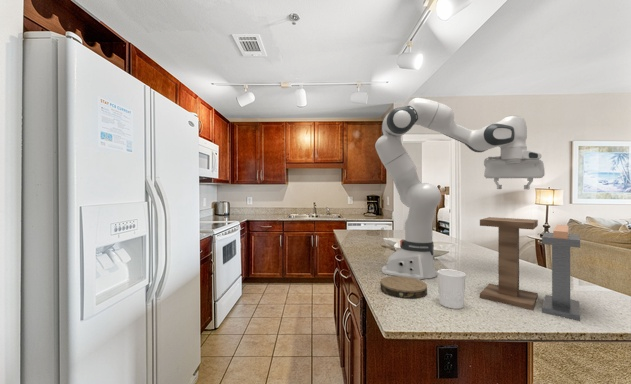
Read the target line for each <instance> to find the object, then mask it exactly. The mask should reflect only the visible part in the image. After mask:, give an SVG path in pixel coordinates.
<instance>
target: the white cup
mask: <svg viewBox="0 0 631 384" xmlns="http://www.w3.org/2000/svg"><path fill="white" fill-rule="evenodd" d="M436 274H437V287H438V289H437V290H438V301H439V303H438V304H440V305H441V306H443V307H445V308H449V309H455V310H457V309H458V310H460V309H462V308H463V309H464V302H465V301H464V299H465V294H466V293H465V289H466V276H467V275H466V273H465V272H463V271H460V270H456V269H450V268H449V269H447V268H444V269H443V268H442V269H438V270H437V272H436Z"/></svg>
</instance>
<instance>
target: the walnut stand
mask: <svg viewBox="0 0 631 384" xmlns="http://www.w3.org/2000/svg"><path fill="white" fill-rule="evenodd" d="M538 224H539V220H538V219H531V218H529V219H528V218H509V217H507V218H506V217H490V216H489V217H485V218H481V219H479V226H480V227H492V228H498V231H497V232H498V237H497V238H498V242H497V243H498V245H497V246H498V257H497V258H498V276H497V277H498V284H494V283H493V284H492V283H488V284H487V285H486V286H485V287H484V288H483V290H481V291H480V292H479V299H482V300H487V301H492V302H496V303H500V304H504V305H509V306H512V307H516V308H521V309H525V310H530V311H534V309H535V307H536V304H537V301H538V298H539V296H538V295H539V294H538V292H535V291H534V292H533V291H529V290H525V289H520V230H534V229H536V228H537V227H539V226H538Z"/></svg>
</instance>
